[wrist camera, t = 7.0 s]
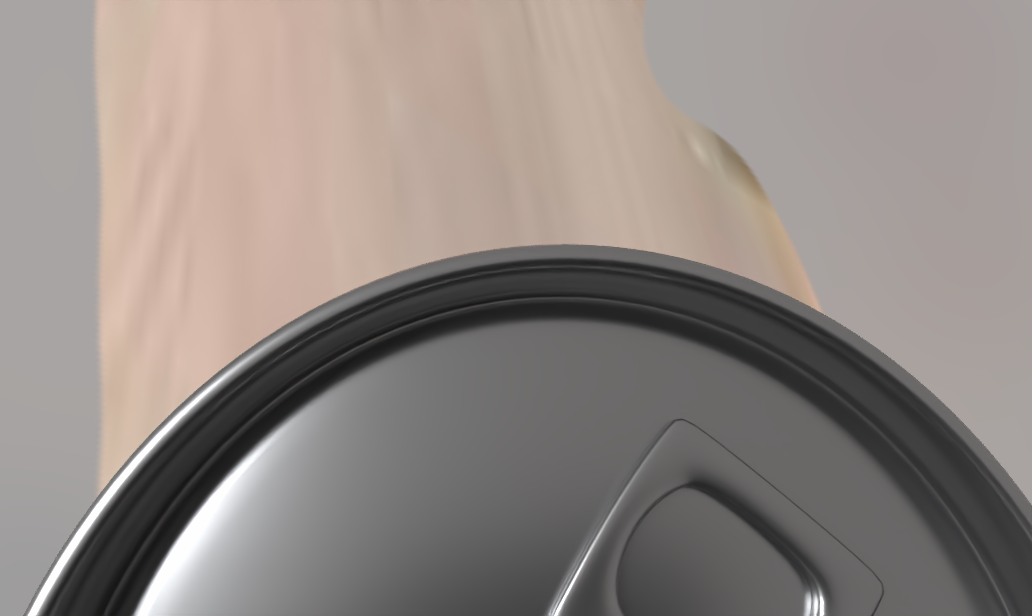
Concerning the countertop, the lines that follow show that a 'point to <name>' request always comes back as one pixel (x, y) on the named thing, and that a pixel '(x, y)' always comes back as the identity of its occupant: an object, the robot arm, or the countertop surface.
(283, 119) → the countertop surface
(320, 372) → the can
